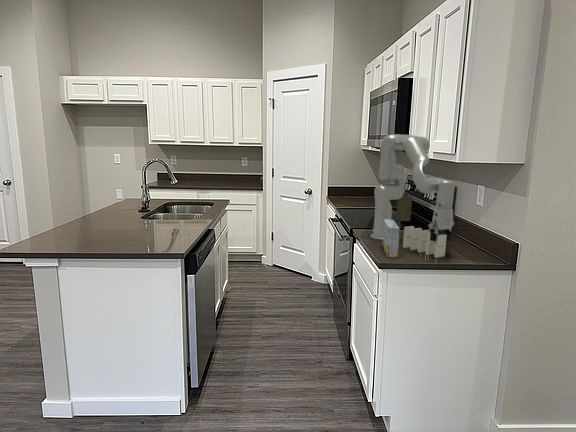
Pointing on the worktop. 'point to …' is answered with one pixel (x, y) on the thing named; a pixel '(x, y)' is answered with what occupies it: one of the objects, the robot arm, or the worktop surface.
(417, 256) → the worktop surface
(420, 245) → the domino
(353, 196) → the worktop surface
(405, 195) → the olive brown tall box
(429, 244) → the domino
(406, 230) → the domino
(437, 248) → the domino
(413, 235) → the domino
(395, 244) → the snack box
